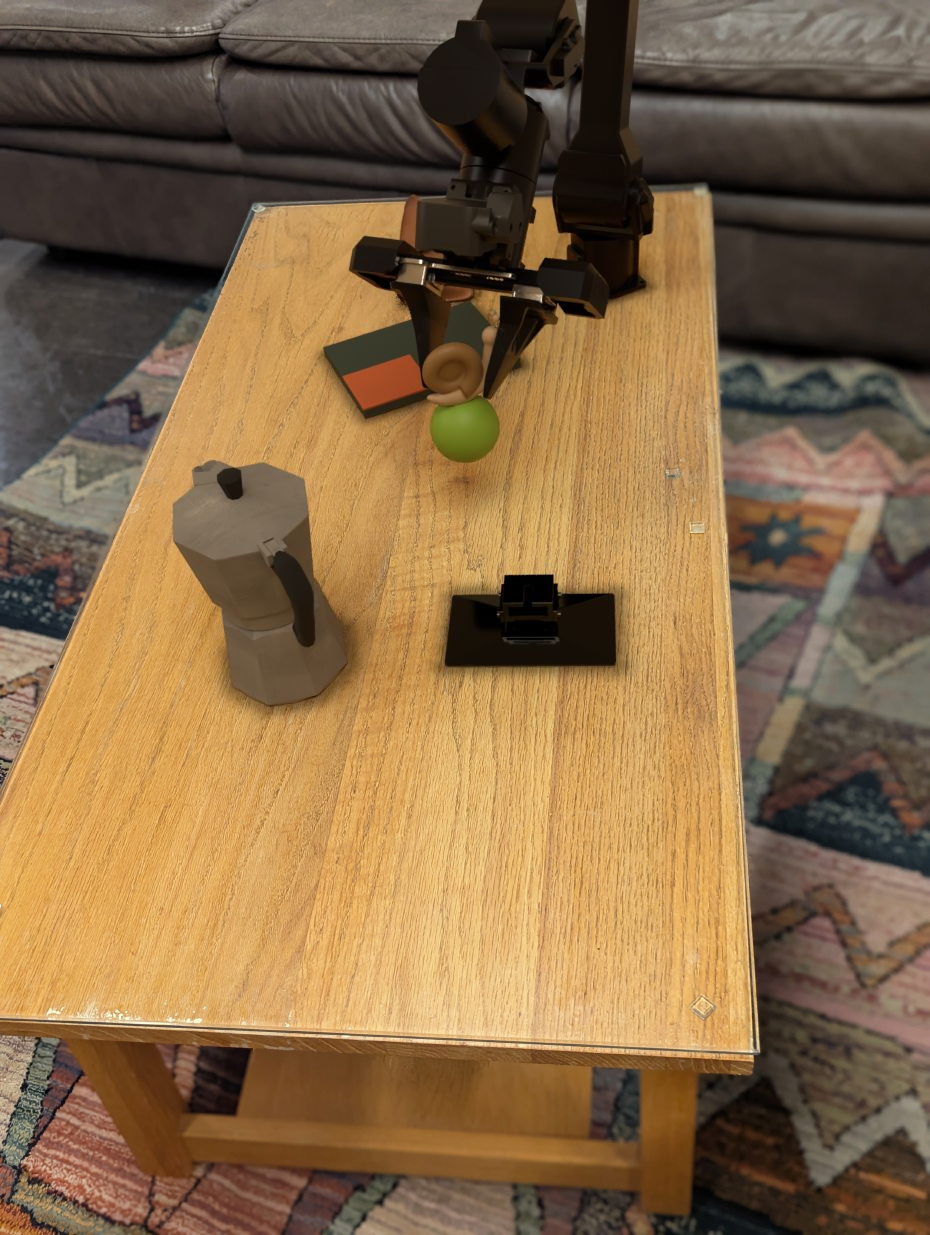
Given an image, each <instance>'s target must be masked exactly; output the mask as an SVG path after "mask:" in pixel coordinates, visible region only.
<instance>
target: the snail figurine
mask: <svg viewBox="0 0 930 1235" xmlns="http://www.w3.org/2000/svg"><path fill="white" fill-rule="evenodd" d="M489 316H490V317H491V318H492V321H493V325H491V326H489V327H487V328H485V329H484V331H483V333H482V340H483V342H484V350H483V356H482V360H481V358H480V356H479V354H478V353H477V352H476V350H475V349H473V348H472V347H471V346H469V345H467V344H464V343H459V342H452V343H447V344H444V345H441V346H439V347H437V348H436V349H434V350H433V351H432V352H431V353H430V354H429V355H428V357H427V358H426V360H425V362H424V365H423V369H422V375H423V379H424V382H425V384H426V385H427V386H428V387H429V388H430V389H431V390H433V391H435V392H437V393H436V394H431V395H428V396H427V398H426V399H427V401H429V402H430V403H432V404H434V405H437V406H435V408H434V410H433V412H432V414H431V417H430V422H429V434H430V438H431V440H432V443H433V445H434V448H436V450H437V451H438V452H439V453H440V454H441V455H442V456H443V457H444V458H446V459H448V460H450V461H452V462H455V463H459V464H469V463H474V462H477V461H480V460H482V459H484V458H485V457H486V456H488V455H489V454H490V453H491V452H492V451H493V449H494V448H495V447H496V445H497V442H498V439H499V436H500V432H501V430H500V429H501V428H500V426H501V424H500V419H499V416H498V415H499V414H498V413H497V410H496V409H495V408H494V406H493V405H492V404H491V402H490V401H489V400H488V399H485V398H483V396H481V395H480V394H482V393H483V389H484V381H485V375H486V371H487V367H488V364H489V360H490V356H491V352H492V348H493V345H494V341H495V337H496V333H497V329H498V326H499V316H500V314H498V312H497V310H496V309H491V310H490V311H489Z"/></svg>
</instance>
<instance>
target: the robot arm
mask: <svg viewBox="0 0 930 1235" xmlns="http://www.w3.org/2000/svg"><path fill="white" fill-rule="evenodd" d="M585 2H586V3H585V15H584V16H585V17H584V18H585V19H584V33H583V32H582V29H583V28H582V25H581V22H580V17H579V10H578V5H577V1H576V0H481V1H480V4H479V6H478V7H477V10H476V12H475V14H474V16H473V17H472V18H471V19H458V20H457V21H456V25H455V32H454V36H453V37H450V38H449V39H447V40H445V41H443V42H441V43H440V44H439V45H438V46H437V47H435V48H434V49H433V50H432V51H431V53H430V54H429V55H428V56H427V58H426V59H425V61H424V64H423V65H422V66H421V68H419V70H418V75H417V80H416V82H417V83H416V90H417V91H416V92H417V97H418V102H419V103H420V106H421V107H422V108H421V109H422V110H423V111H424V112H425V113H426V115H427V116H428V117H429V118H430V119H431V120H432V121H433V123H434V124H435V125H436V126H437V127H438V128H439V129H440V130H441V131H442V133H444V135H445V136H446V137H447V138H448V139H449V141H451V142H452V143H453V145H454V146H455V147H456V148H457V149H459V151H461V152H463V153H462V157H461V163H460V169H459V173H458V178H454V177H453V178H452V177H451V179H450V183H449V184H448V185H447V190H446V195H445V197H444V198H430V199H429V198H428V199H422V200H418V201H417V210H416V231H415V248H414V247H412V246H411V245H410V244H409V243H407V242H406V241H405V240H400V239H396V238H387V237H379V236H371V235H363V236H362V237H361V238H360V240H359V241H358V242H357V243H356V244H355V246H354V247H353V248H352V249H351V256H350V261H349V265H348V271H349V272H350V273H352V274H353V275H355V276H356V277H358V278H360V279H361V280H363V281H365V282H366V283H368V284H370V286H371V285H372V286H373V287H375V288H376V289H380V290H383V291H387V292H394V293H395V294H396V293H397V294H399V295H400V296H402V297H403V298H404V300H405V302H406V304H407V305H406V304H405V305H406V307H407V308H408V312H409V314H410V318H411V319H412V323H413V327H414V332H415V338H416V345H417V352H418V360H419V367H420V374H421V382H422V386H423V388H425V389H429V390H431V389H430V388H429V387H428V386H427V385H426V384H425V382H424V379H423V375H422V369H423V365H424V362H425V360H426V358H427V357H428V355H429V354H430V353H431V352H432V351H433V350H434V349H436V348H437V347H439V346H441V345H443V344H444V339H445V334H446V329H447V325H448V320H449V315H450V310H451V306H453V305H452V303H451V302H447V301H446V300H444V299H443V298H442V297H440V296H441V291H442V290H443V285H446V286H454V287H461V288H469V289H474V290H477V291H485V292H491V293H500V295H499V321H498V329H497V333H496V337H495V341H494V345H493V348H492V352H491V356H490V360H489V364H488V367H487V371H486V375H485V381H484V389H483V392H482V397H483V398H485V399H486V400H488V401H491V400H492V399H493V398H494V396H495V395H496V394H497V392H498V390H499V389H500V387H501V386H502V384H503V383H504V381H505V380H506V378H507V376H508V375H509V374H510V372H511V371H512V370H511V369H512V367H513V366H514V364H515V363H516V361H517V360H518V358H519V357H520V358H521V355H522V354H523V353H524V352H525V350H526V349H527V347H529V345H530V344H531V343H532V342H533V340H534V339H535V338H536V337H537V336H538V334H539V333H540V332H541V331H542V330H543V329H544V327H546V326H547V325H552V326H555V325H557V324H558V322H559V317H558V316H557V315H556V313H557V308H558V306H559V308H560V309H561V311H562V313H563V314H564V315H565V316H570V317H579V318H585V319H593V320H605V318H606V312H607V308H608V303H609V300H611V299H614V298H615V299H616V298H617V297H621V296H623V295H627V294H630V293H633V292H636V291H639V290H642V289H645V288H647V280H646V279H644V278H643V277H642V276H641V275H640V242H641V240H642V238H643V237H645V236H648V235H651V234H653V232H654V223H655V222H654V220H655V218H654V217H655V215H654V214H655V208H654V204H655V203H654V202H655V197H654V195H653V193H652V191H651V189H650V186H649V185H648V183H647V180H646V179H645V178H643V167H644V166H643V165H644V156H643V153H642V151H641V149H640V146H639V145H638V143H637V140H636V138H635V136H634V134H633V132H632V130H631V128H630V114H631V102H632V90H633V77H634V68H635V67H634V65H635V53H636V43H637V29H638V18H639V6H640V4H639V3H640V0H585ZM582 33H583V34H584V35H583V34H582ZM581 59H582V66H581V67H582V68H581V82H580V83H581V84H580V85H581V86H580V101H579V102H580V103H579V117H578V118H579V119H578V127H577V128H578V129H577V130H576V132H575V134H574V135H573V136H572V137H571V140H570V142H569V143H568V144H567V146H566V148H565V149H563V150H562V151H561V152H560V155H559V157H558V158H557V173H556V174H555V177H554V180H553V183H552V184H553V185H552V191H551V202H552V209H553V214H554V218H555V223H556V228H557V233H558V234H570V243H569V244H567V246H566V259H563V258H556V257H555V258H554V257H547V256H545V257H544V258H543V260H542V261H541V263H539V264H540V265H539V266H538V269H537V270H536V269H529V268H526V264H524V262H523V255H524V251H525V246H526V241H527V235H528V231H529V225H530V224H531V225H535V220H536V215H537V209H536V208H535V207H534V206H533V205H534V200H535V195H536V190H537V185H538V180H539V176H540V175H539V174H540V170H541V166H542V159H543V154H544V150H545V145H546V141H547V142H548V141H550V139H551V127H550V125H551V124H550V121H549V117H548V116H547V114H546V113H545V111H544V110H543V103H542V102H541V101H537V100H536V99H534V98H533V97H531V96H530V95H528V94H527V93H525V92H526V89H527V90H529V89H530V90H543V91H557V90H559V89H560V90H563V89H564V88H565V87H566V85H567V84H568V82H569V80H570V77H571V76H573V75H574V74H575V73H576V71H577V69H578V68H579V67H580V63H581ZM418 250H420V251H431V250H433V251H434V252H435V253H441V254H443V255H444V256H443V259H441V258H433V257H426V256H424V255H423V254H422V253H420V252H419V251H418ZM456 273H458V274H459V275H457V274H456ZM460 273H461V274H463V275H464V276H463V275H461V274H460ZM465 274H467V275H471V276H466V275H465ZM503 294H506V295H503ZM510 295H512V296H510Z"/></svg>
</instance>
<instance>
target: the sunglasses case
mask: <svg viewBox="0 0 930 1235" xmlns="http://www.w3.org/2000/svg"><path fill="white" fill-rule="evenodd" d="M418 200H423V199H422V198H421V197H419V196H417V195H416V194H411V195H409V196H408V198H407V199H406V201H405V203H404V207H403V214H402V217H401V218H402V219H401V223H400V224H401V225H400V231H399V232H400V233H399V240H405V241H406V242H407V243H409V244H410V245H411V246H412V247H414V248H415V231H416V210H417V201H418ZM418 251H419V252H420V253H422V254H423V255H424V256H426V257H433V258H441V259H443V256H444V255H443V254H441V253H435V252H434V251H433V250H431V251H420V250H418ZM456 274H457V275H459V274H458V273H456ZM460 274H461V273H460ZM461 275H463V274H461ZM465 275H466V276H471V275H467V274H465ZM463 276H464V275H463ZM474 290H475V289H469V288H461V287H454V286H446V285H443V290H442V291H441V296H440V297H442V298H443V299H444V300H446V301H447V302H449V303H453V302H459V301H464V300H468V299H471V298H473V297H474V295H475V293H474ZM395 295H396V297H397V298H398V299H399V300H400V301H401V302H402V303H403V304H405V305H406V306H407V304H406V302H405V300H404V298H403V297H402V296H400V295H399V294H397V293H395Z"/></svg>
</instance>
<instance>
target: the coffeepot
mask: <svg viewBox="0 0 930 1235" xmlns="http://www.w3.org/2000/svg"><path fill="white" fill-rule="evenodd" d="M191 474H192V483H193V486H192V487H191V488H190V489H188V491H186V492H185V493H184V494H183V495H181V497H179V498H178V499H176V500H175V501H174V502H173V503H172V542H173V543H174V545H175V546H176V548H177V549H178V551H179V552H180V554H181V556H182V557H183V559H184V560H185V562H186V563H187V565H188V566H189V568H190V570H191V571H192V573H193V575H194V576H195V577H196V579H197V581H198V582H199V584H200V585H201V587H202V588H203V590H204V591H205V593H206V595H207V596H208V598H209V599H210V601H211V602H212V604H214V605H215V606H217V607H219V608H220V609H221V618H222V627H223V633H224V640H225V649H226V654H227V662H228V670H229V676H230V682H231V683H230V684H231V687H232V688H234V689H236V690H238V691H240V692H241V693H243V694H244V695H245V696H247V697H248V698H250V699H252V700H254V701H257V702H259V703H263V704H265V705H267V706H275V705H288V704H294V703H297V702H298V703H299V702H301V701H305V700H307V699H309V698H312V697H315V696H318V695H319V694H320V693H321V692H323V691H324V690H325V689H326V688H327V687H328V686H330V685H331V684H332V683H333V682H334V681H335V680H336V678H337V677H338V676H339V674H340V672H341V671H342V669H343V668H344V667H345V666H346V664H347V663H348V657H347V656H348V655H347V649H346V643H345V637H344V630H343V626H342V625H341V623H340V621H339V619H338V617H337V615H336V613H335V612H334V610H333V608H332V606H331V604H330V602H329V600H328V598H327V596H326V594H325V592H324V591H323V589H322V587H321V585H320V584H319V582H318V580H317V578H316V577H315V572H314V562H313V561H314V560H313V549H312V548H313V547H312V537H311V536H312V535H311V525H310V511H309V503H308V496H307V489H306V481H305V480H306V479H305V478H304V477H301V476H299V475H296V474H294V473H291V472H289V471H286V470H285V469H282V468H280V467H277V466H274V465H272V464H269V463H267V462H264V461H262V462H257V463H253V464H252V463H251V464H246V465H241V466H237V467H236V466H235V467H234V466H232V465H230V464H227V463H225V462H222V461H220V460H216V459H211V460H208V461H205V462H204V463H203V464H202V465H196V466H194V468H193V469H191Z"/></svg>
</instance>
